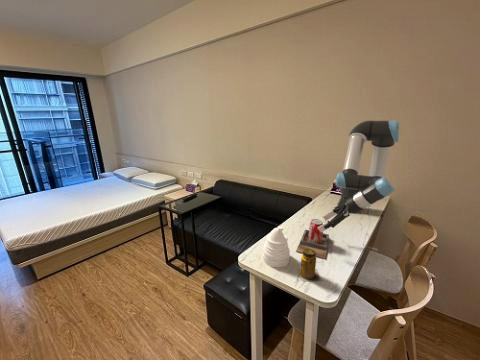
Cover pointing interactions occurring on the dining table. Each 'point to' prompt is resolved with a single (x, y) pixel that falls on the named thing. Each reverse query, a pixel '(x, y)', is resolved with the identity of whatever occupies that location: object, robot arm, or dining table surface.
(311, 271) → the condiment
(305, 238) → the board
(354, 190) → the robot arm
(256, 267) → the dining table surface
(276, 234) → the honey pot
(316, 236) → the soda can
